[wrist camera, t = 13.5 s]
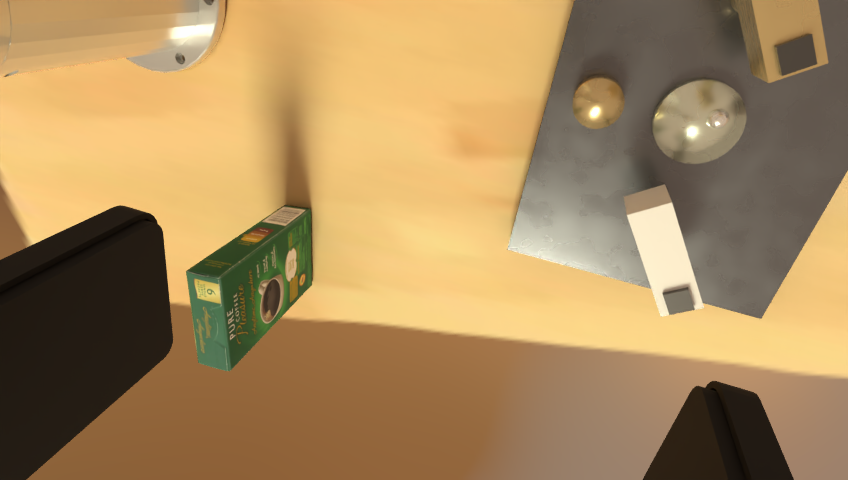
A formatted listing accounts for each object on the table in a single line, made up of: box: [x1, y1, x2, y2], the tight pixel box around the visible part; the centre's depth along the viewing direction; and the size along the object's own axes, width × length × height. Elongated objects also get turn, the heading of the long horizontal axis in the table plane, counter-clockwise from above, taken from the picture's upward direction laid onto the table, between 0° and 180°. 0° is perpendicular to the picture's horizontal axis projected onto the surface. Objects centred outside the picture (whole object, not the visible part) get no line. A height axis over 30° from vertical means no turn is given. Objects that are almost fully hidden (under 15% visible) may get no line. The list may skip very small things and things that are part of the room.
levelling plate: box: [507, 0, 848, 319], centre depth 32 cm, size 18×24×4 cm
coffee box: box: [186, 205, 312, 371], centre depth 41 cm, size 8×3×13 cm, turn 176°
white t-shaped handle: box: [624, 184, 704, 317], centre depth 32 cm, size 7×2×6 cm, turn 26°
